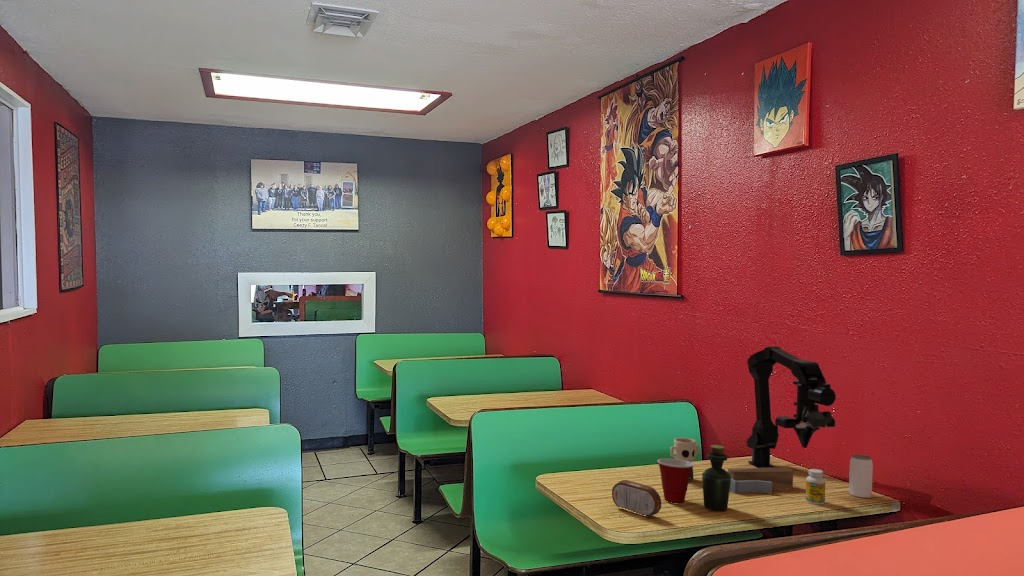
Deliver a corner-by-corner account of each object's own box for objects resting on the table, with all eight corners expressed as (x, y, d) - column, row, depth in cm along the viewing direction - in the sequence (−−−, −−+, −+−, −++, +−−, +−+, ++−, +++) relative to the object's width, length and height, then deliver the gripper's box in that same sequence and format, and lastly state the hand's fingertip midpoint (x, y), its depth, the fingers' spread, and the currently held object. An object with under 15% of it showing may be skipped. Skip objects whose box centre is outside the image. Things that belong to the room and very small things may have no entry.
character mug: (675, 483, 228) (677, 443, 228) (663, 477, 235) (664, 438, 235) (704, 480, 232) (705, 441, 232) (691, 474, 239) (692, 436, 239)
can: (869, 499, 217) (870, 461, 216) (846, 495, 220) (847, 457, 220) (873, 494, 222) (874, 456, 221) (851, 490, 226) (852, 453, 225)
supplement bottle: (823, 500, 215) (824, 469, 215) (826, 506, 210) (827, 474, 209) (804, 498, 216) (805, 467, 216) (806, 504, 211) (807, 472, 211)
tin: (661, 518, 196) (662, 488, 196) (655, 521, 194) (656, 490, 194) (615, 505, 206) (616, 476, 206) (609, 507, 204) (610, 478, 204)
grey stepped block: (746, 479, 235) (746, 468, 235) (773, 493, 220) (773, 482, 220) (713, 480, 232) (714, 470, 232) (738, 495, 218) (738, 484, 217)
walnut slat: (727, 486, 227) (728, 468, 227) (786, 485, 230) (786, 467, 230) (732, 490, 223) (733, 471, 223) (792, 489, 226) (793, 471, 226)
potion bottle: (695, 507, 205) (697, 446, 205) (709, 501, 211) (711, 441, 211) (721, 514, 200) (723, 451, 199) (735, 508, 206) (737, 447, 205)
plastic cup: (697, 499, 213) (698, 459, 213) (687, 509, 204) (688, 468, 204) (662, 492, 219) (664, 454, 218) (651, 502, 209) (652, 462, 209)
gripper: (796, 405, 221) (794, 455, 221) (847, 404, 225) (846, 453, 225) (775, 399, 231) (773, 446, 232) (824, 398, 236) (823, 444, 236)
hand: (804, 447), depth 231 cm, fingers closed
